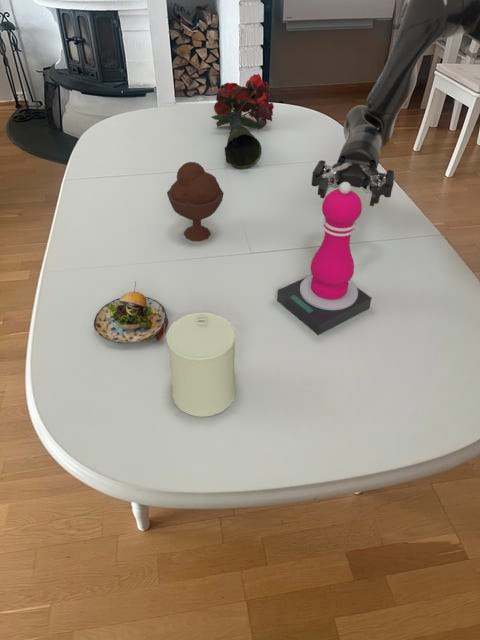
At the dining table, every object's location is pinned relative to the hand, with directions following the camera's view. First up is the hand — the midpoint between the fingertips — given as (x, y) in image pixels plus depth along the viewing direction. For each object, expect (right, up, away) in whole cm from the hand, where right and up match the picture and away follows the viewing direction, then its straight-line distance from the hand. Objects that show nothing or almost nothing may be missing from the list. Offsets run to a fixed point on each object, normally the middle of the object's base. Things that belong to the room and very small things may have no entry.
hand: (347, 197), depth 89 cm
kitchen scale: (-4, -18, +3) cm, 19 cm away
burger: (-36, -22, -2) cm, 43 cm away
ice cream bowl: (-27, -3, +19) cm, 34 cm away
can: (-24, -32, -13) cm, 42 cm away
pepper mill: (-3, -16, +1) cm, 16 cm away
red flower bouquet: (-17, +28, +55) cm, 64 cm away
